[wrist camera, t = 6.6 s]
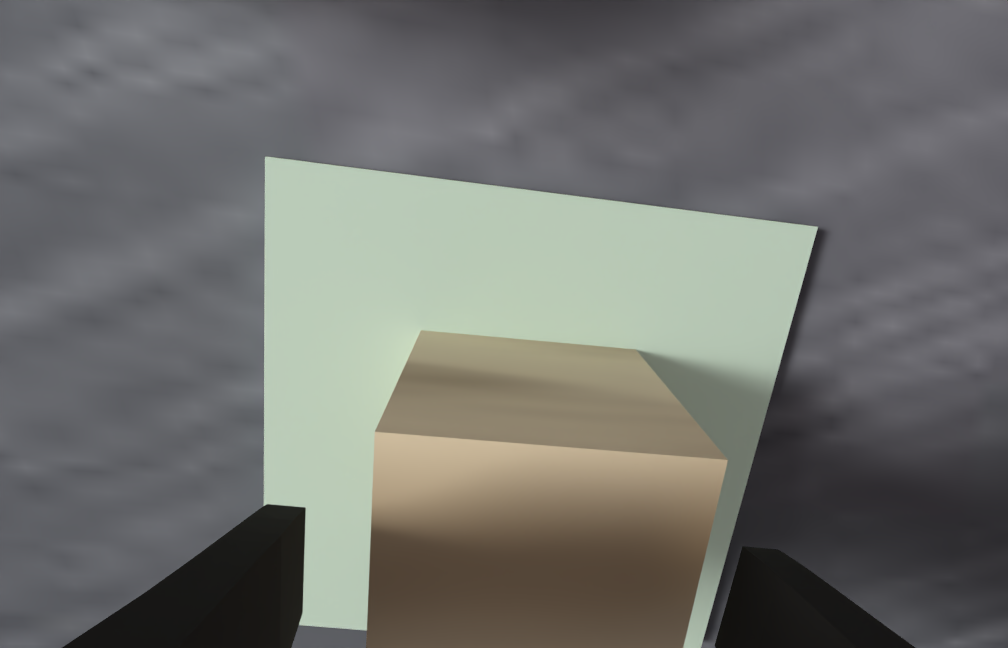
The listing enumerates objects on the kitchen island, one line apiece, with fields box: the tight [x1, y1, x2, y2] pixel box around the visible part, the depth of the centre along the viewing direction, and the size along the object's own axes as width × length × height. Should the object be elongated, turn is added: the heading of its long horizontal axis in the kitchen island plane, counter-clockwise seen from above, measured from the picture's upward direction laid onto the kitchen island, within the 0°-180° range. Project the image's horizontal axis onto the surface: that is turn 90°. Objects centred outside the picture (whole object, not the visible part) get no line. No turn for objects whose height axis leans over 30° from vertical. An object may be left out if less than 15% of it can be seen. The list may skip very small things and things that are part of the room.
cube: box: [366, 330, 728, 648], centre depth 10 cm, size 5×5×5 cm
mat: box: [264, 157, 818, 648], centre depth 13 cm, size 12×12×1 cm
